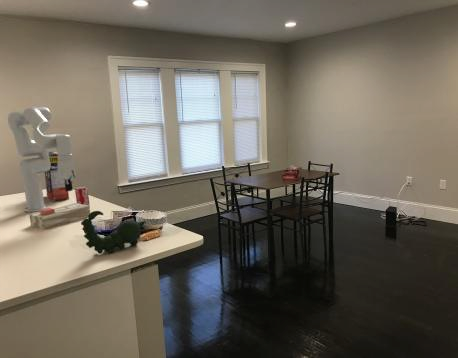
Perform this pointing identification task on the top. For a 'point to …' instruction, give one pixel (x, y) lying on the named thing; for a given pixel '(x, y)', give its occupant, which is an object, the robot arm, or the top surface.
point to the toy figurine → (124, 234)
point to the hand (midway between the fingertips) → (69, 190)
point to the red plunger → (47, 211)
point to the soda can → (82, 196)
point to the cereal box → (55, 181)
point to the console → (60, 216)
